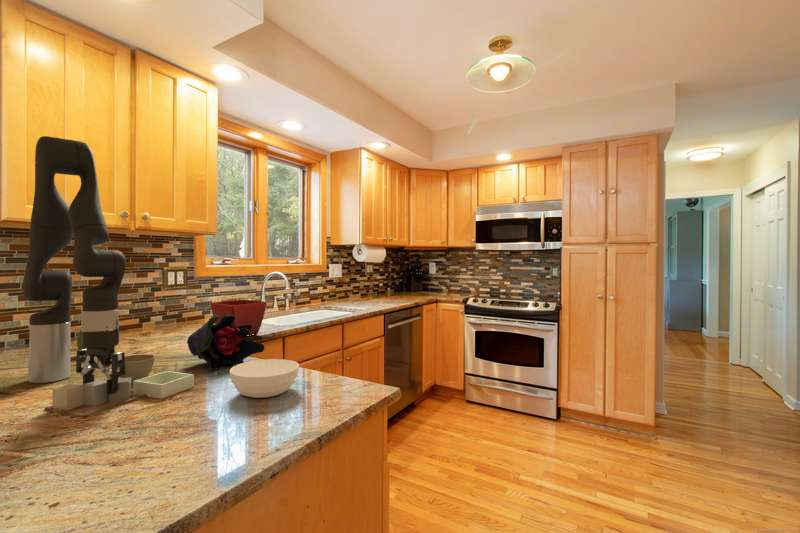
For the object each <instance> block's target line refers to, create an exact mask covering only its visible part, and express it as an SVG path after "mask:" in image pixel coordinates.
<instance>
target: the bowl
mask: <svg viewBox="0 0 800 533" xmlns="http://www.w3.org/2000/svg"><path fill="white" fill-rule="evenodd" d="M299 369H300V365H299V363H298V362H297V361H294V360H290V359H284V358H281V359H280V358H269V359H265V358H264V359H256V360H251V361H246V362H245V361H244V363H241V364H238V365H236V366H235V365H233V366H232V367H230V369H229V375H230V379H231V380H230V381H231V383H232V384H233V385H234V387H235V389H236V391H237V392H238V393H240V395H242V396H245V397H249V398H254V399H255V398H256V399H259V398H260V399H261V398H263V399H265V398H271V397H275V396H276V397H277V396H278V395H280V394H283V393H285V392H286V391H288V390H289V389H290V388H291V387H292V385H293V384H294V383H295V380H296V379H297V377H298V375H299V374H298V373H299Z"/></svg>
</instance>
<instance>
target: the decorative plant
mask: <svg viewBox="0 0 800 533" xmlns="http://www.w3.org/2000/svg"><path fill="white" fill-rule="evenodd" d="M218 319H219V317H218V316H217V315H216V314H215V315H214V316H213V315H212V316H211V317H210V318H209V319H208V320H207V321H206V322H205V323H204V324H203V325H202V326H201V327H200V328H197V329H196V330H195V331H194V332H192V333H191V334H190V335H189V336H188V338H187V341H186V342H187V347H188V350H189V351H190V353H191V355H192V356H194V357H195V356H197V358H198V359H199V360H204V361H205V362H206V363H207V364H208V366H209V368H210V372H216V371H217V370H218V367H219V366H220V363H222V364H228V365H232V366H236V365H238V364H241V363H245V361H244V360H245V359H247V358H248V357H250V356H252V355H255V354H259V353H263V352H264V351H265V346H264V344H263V343H261V342H257V341H253V340H251V339H249V338H248V337H246V336H247V335H248V334H249V330H251V328H252V326H250V325H243V326H231V325H232V322H233V321H234V319H235V316H233V315H224V316H223V317H222V319H221V320H220V321H219V322H218V323H216V324H215V322H216V320H218Z"/></svg>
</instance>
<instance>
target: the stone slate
mask: <svg viewBox="0 0 800 533" xmlns="http://www.w3.org/2000/svg"><path fill="white" fill-rule="evenodd" d="M82 385H83V405H89V406H97V405H100V404H103V403H106V402H109V395H108V394H107V380H105V379H104V380H103V379H98V380H97V379H96V380H94V381H93V382H90V383H86V384H83V383H82Z"/></svg>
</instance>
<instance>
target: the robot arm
mask: <svg viewBox="0 0 800 533" xmlns="http://www.w3.org/2000/svg"><path fill="white" fill-rule="evenodd" d="M34 154H35V155H34V157H35V158H34V195H33V203H32V208H31V209H32V211H31V216H30V227H29V241H28V242H29V244H28V254H27V259H26V265H25V270H24V274H23V280H22V295H23V297H24V299H25V300H27V301H29V302H48V301H56V302H55V304H54V305H51V307H49V308H47V309H45V310H41V311H38V312H35V313H32V314H31V315H30V316H29V332H28V333H29V348H28V354H27V355H28V362H27V363H28V366H27V367H28V373H27V374H28V375H27V376H28V379H27V380H28V383H30V384H45V383H52V382H57V381H61V380H62V381H63V380H65V379H68V378H70V376H71V335H72V334H71V328H72V327H71V324H72V323H71V322H72V321H71V320H72V319H71V316H72V314H71V313H72V295H73V294H72V292H73V276H72V274H71V272H70V271H68V270H60V269H59V270H52V269H51V270H49V269H47V270H46V269H45V267H46V265H47V264H48V263H49V262H50V261H51V259H52V258H53V257H55V256H56V255H58V254H59V253H60V252H61V251H63V250H64V248H65V249H66V247H67V246H68V245H69V244H70V243H71V241H72V240H73V238H74V242H73V244H74V245H73V246H74V247H73V248H74V249H73V258H72V266H73V269H74V271H75V272H76V273H77V274H78V275H79V276H82V277H84V278H102V280H101V281H100V282H99V284H97V285H94V286H89V287H87V288H84V289H83V292H82V315H81V320H80V322H81V324H80V330H81V347H82V348H83V349H81V350H78V349H77V351H76V360H75V361H76V362H75V372H76V374H80V376H81V377H82V385H83V384H86V383H90V382H93V381H95V374H94V373H95V372H96V370H100V372H101V373H103V374H104V375H105V377H106V381H107V394H108V395H111V394H114V393H117V391H118V379H120V376H124V375H125V356H126V354H125V351H119V352H116V351H115V347H116V346H118V345H119V344H120V316H119V305H118V304H119V291H120V289H121V285H122V281H123V279H124V275H125V273H126V270H127V259H126V257H125V255H124V253H123V252H121V251H120V250H117V249H102V248H101V249H100V248H95V246H98V245H99V246H100V245H102V244H105V243H107V241H108V240H109V239H110V233H109V229H108V226H107V221H106V220H105V217H104V213H103V210H102V205H101V198H100V191H99V181H98V175H97V167H96V161H95V158H94V153H93V151H92V148H91V147H90V145H89V144H87V143H86V142H83V141H79V140H73V139H67V138H60V137H54V136H48V135H45V136H40V137H39V138H38V140H37V142H36V145H35V151H34ZM56 174H57V175H58V174H59V175H70V176H77V177H78V176H79V179H80V187H79V189H78V191H77V193H76V194H75V197H74V198H73V200H72V202H71V203H70V205H69V204H68V202H67V201H66V200H65V198H63V196H62V194H61V193H60V192H59V190H58V188H57V186H56V181H55V176H56ZM44 269H45V270H44ZM82 364H83V365H82ZM118 367H120V372H119V371H118V369H117V368H118Z"/></svg>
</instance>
